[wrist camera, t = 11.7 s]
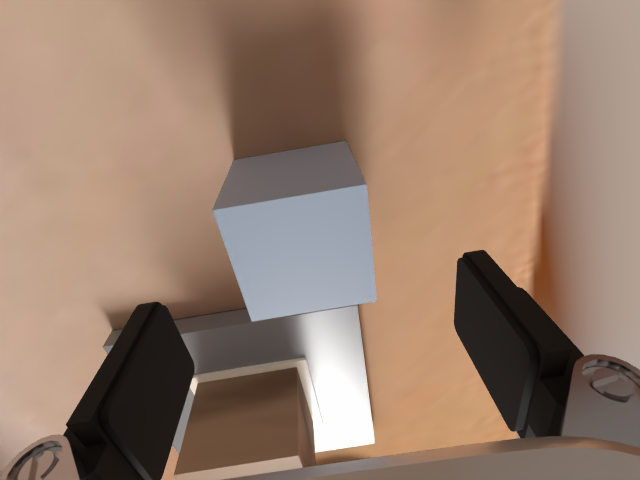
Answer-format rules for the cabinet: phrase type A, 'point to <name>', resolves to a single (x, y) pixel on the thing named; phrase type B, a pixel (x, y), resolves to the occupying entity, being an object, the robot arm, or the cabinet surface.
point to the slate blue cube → (298, 231)
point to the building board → (287, 364)
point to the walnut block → (247, 427)
